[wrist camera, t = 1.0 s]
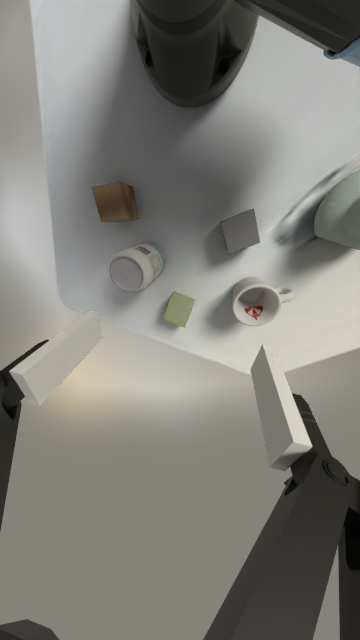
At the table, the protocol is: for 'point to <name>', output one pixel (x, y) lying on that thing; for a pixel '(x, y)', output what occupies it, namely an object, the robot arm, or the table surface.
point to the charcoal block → (240, 231)
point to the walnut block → (115, 202)
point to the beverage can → (137, 266)
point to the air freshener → (341, 213)
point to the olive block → (179, 309)
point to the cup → (258, 301)
